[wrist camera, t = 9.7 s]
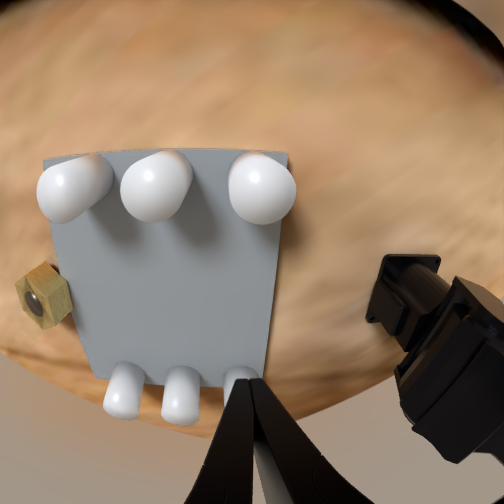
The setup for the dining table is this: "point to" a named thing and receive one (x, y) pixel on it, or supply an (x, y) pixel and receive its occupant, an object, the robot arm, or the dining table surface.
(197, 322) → the board
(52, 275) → the nut
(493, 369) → the robot arm
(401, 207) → the dining table surface
